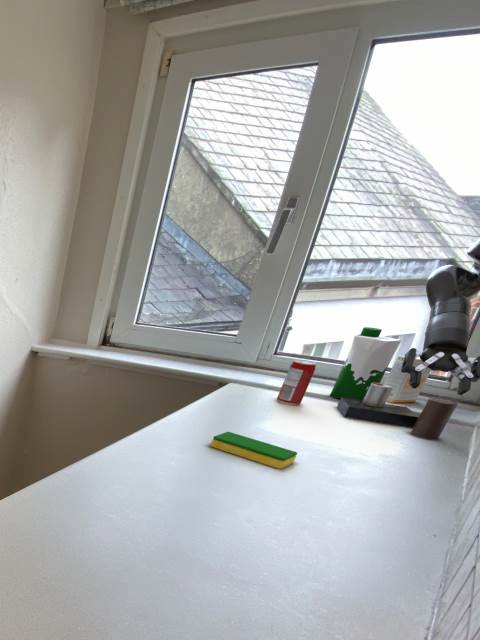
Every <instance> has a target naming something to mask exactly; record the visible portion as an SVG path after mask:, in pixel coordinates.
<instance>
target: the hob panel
mask: <svg viewBox="0 0 480 640" xmlns="http://www.w3.org/2000/svg"><path fill="white" fill-rule="evenodd" d="M362 402H363V400H356V399H350V398H343V397H341V399H340V398H339V401H338V402H337V405H336V409H337V410H338V411H339V413H340V414H341V415H342V417H343V418H345V419H346V418H347V419H353V420H360V421H365V422H371V423H378V424H384V425H389V426H390V425H391V426H396V427H402V428H409V429H413V427H414V425H415V423H416V421H417V420H418V418H419V416H418V415H417V414H416V413H415V412H413V411H412V410H411V409H410V408H409V407H408V406H403V405H397V404H390V403H385V405H384V407H372V406H368V405H365V404H363V403H362Z"/></svg>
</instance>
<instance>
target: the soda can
mask: <svg viewBox="0 0 480 640" xmlns="http://www.w3.org/2000/svg"><path fill="white" fill-rule="evenodd" d="M316 366H317V363H316V362H315V361H311V360H306V359H294V360H293V361H292V362H291V364H290V365H289V368H288V370H287V373H286V376H285V377H284V380H283V383H282V385H281V388H280V390H279V393H278V395H277V397H276V399H277V401H278V402H279V403H281V404H285V405H289V406H290V405H291V406H297V405H300V404H302V401H303V399H304V397H305V394H306V392H307V390H308V388H309V385H310V382H311V380H312V378H313V375H314V374H315V371H316Z"/></svg>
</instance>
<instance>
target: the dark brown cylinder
mask: <svg viewBox="0 0 480 640" xmlns="http://www.w3.org/2000/svg"><path fill="white" fill-rule="evenodd" d="M458 405H459V402H457V401H453V400H451V399H444V398H439V397H429V398H428V399H427V401H426V403H425V405H424V406H423V408H422V410H421V412H420V414H419V416H418V417H419V418H418V420H417V421H416V423H415V425H414V427H413V428H411V431H410V433H409V434H410V435H412V436H414V437H417V438H421V439H425V440H431V441H433V440H434V441H437V440H439V438H440V436H441V434H442V432H443V431H444V430H445V427H446V426H447V424H448V422H449V421H450V419H451V417H452V415H453V414H454V412H455V410H456V408H457V406H458Z"/></svg>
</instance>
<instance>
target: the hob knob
mask: <svg viewBox="0 0 480 640" xmlns="http://www.w3.org/2000/svg"><path fill="white" fill-rule="evenodd" d="M392 389H393V386H391V385H388V384H385V383H382V382H380V383H374V382H372V383H371V385H370V387H369V389H368V392H367V394H366V396H365V398H364V400H363V402H362V403H363V404H365V405H368V406H372V407H384V405H385V404H387V402H388V401H387V399H388V397H389V395H390V393H391V391H392Z"/></svg>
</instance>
